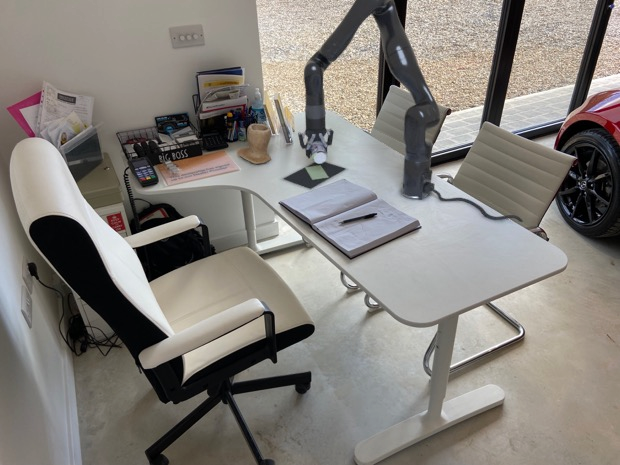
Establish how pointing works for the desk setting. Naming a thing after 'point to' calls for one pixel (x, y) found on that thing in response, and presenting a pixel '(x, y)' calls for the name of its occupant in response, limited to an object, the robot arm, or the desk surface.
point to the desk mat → (314, 174)
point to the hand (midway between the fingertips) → (316, 156)
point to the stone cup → (256, 144)
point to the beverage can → (318, 152)
